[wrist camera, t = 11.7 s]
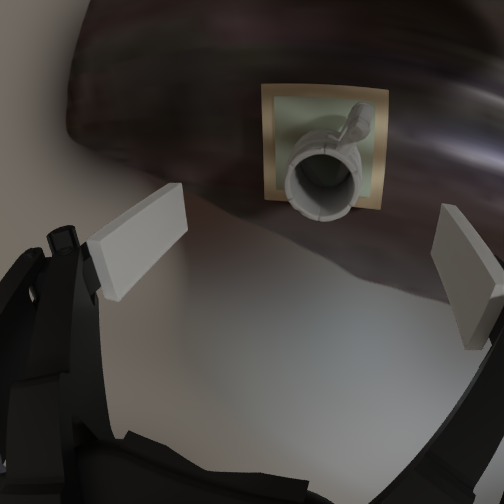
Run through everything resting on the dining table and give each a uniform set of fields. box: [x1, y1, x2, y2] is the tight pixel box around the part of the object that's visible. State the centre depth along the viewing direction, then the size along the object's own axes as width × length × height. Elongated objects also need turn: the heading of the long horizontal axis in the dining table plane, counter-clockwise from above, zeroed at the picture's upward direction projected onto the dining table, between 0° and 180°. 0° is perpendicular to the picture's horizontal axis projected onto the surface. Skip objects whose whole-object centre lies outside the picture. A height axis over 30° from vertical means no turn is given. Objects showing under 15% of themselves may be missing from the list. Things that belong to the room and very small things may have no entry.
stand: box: [261, 84, 389, 210], centre depth 33 cm, size 14×14×3 cm
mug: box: [284, 102, 373, 221], centre depth 26 cm, size 8×12×12 cm, turn 153°
